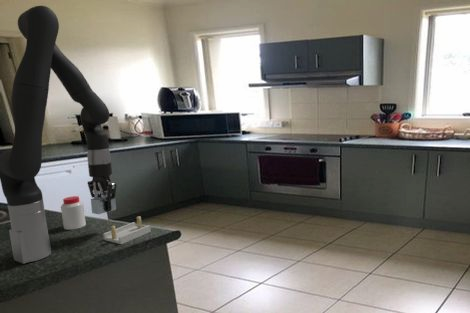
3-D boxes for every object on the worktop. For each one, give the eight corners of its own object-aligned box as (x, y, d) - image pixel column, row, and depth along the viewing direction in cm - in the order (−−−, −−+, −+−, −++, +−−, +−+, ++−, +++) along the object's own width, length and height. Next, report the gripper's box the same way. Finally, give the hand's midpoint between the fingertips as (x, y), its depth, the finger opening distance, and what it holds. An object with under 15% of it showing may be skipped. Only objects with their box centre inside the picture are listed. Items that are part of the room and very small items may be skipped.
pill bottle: (89, 222, 143) (85, 195, 141) (79, 229, 135) (75, 200, 134) (71, 223, 144) (67, 195, 142) (59, 230, 136) (55, 201, 135)
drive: (99, 214, 125) (97, 200, 125) (92, 213, 128) (90, 199, 127) (116, 209, 131) (115, 195, 130) (109, 208, 133) (108, 194, 133)
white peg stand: (121, 244, 117) (119, 229, 116) (104, 239, 122) (102, 225, 121) (150, 231, 126) (149, 217, 126) (133, 228, 132) (132, 214, 131)
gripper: (77, 162, 128) (82, 210, 130) (102, 164, 120) (107, 215, 122) (96, 160, 134) (101, 205, 136) (121, 161, 126) (125, 210, 128)
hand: (104, 210), depth 129 cm, fingers closed on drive, 4 cm apart
